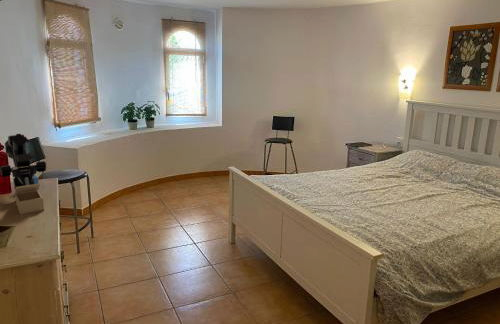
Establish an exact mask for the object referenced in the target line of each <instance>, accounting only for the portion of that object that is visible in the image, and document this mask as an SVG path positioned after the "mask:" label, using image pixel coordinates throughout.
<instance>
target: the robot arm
mask: <svg viewBox="0 0 500 324" xmlns="http://www.w3.org/2000/svg"><path fill="white" fill-rule="evenodd" d="M28 143H29V138H27V136H25V134H21V133H15V134H12V135H8V136H7V140H6V141H5V143H4V148H5V149H4V151H5V154H7V156H8V158H9V159H11V160H12V161H13V165H14V166H12V167H11V165H10V164H9V165H1V167H0V175H1V177H2V178H4V177H5V178H6V177H10V176H11V175H12V177H13V178H12V182H13V184H12V185H13V188H14V190H15V189H16V187H20V186H26V184H25V177H28V180H29V185H33V184H34V178H33V176H34V175H36V174H37V173H41V172H46V171H47V162H46V161H44V160H41V161H36V162H35V164H32V165H31V160H34V158H35V156H34V152H28V151H27V148H28V147H27V145H28ZM29 170H30V172H29ZM29 192H30V191H29ZM23 193H24V192H23ZM17 194H18V193H17Z"/></svg>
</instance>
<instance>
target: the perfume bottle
mask: <svg viewBox="0 0 500 324" xmlns="http://www.w3.org/2000/svg"><path fill="white" fill-rule="evenodd" d="M29 172H30V170H29ZM33 178H34V184H39V177H38V176H36V174H34V176H33Z"/></svg>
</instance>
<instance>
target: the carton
mask: <svg viewBox="0 0 500 324" xmlns="http://www.w3.org/2000/svg"><path fill="white" fill-rule="evenodd" d="M14 197H15V204H16V208H17V210H18V213H19V215H20V216H22V215H27V214H28V215H29V214H31V213H38V212H43V211H45V205H44V198H43V196H42V195H41V193H40V192H39V189H38V190H36V191H30V192H24V193H18V194H15V193H14Z"/></svg>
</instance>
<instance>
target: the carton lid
mask: <svg viewBox="0 0 500 324" xmlns="http://www.w3.org/2000/svg"><path fill="white" fill-rule="evenodd" d="M38 183H39V182H38ZM25 184H26V186H20V187H16V189H14V195H15V194H17V193H23V192H29V191H36V190H38V191H39V189H40V186H41V183H39V184H33V185H29V180H28V177H25Z"/></svg>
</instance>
